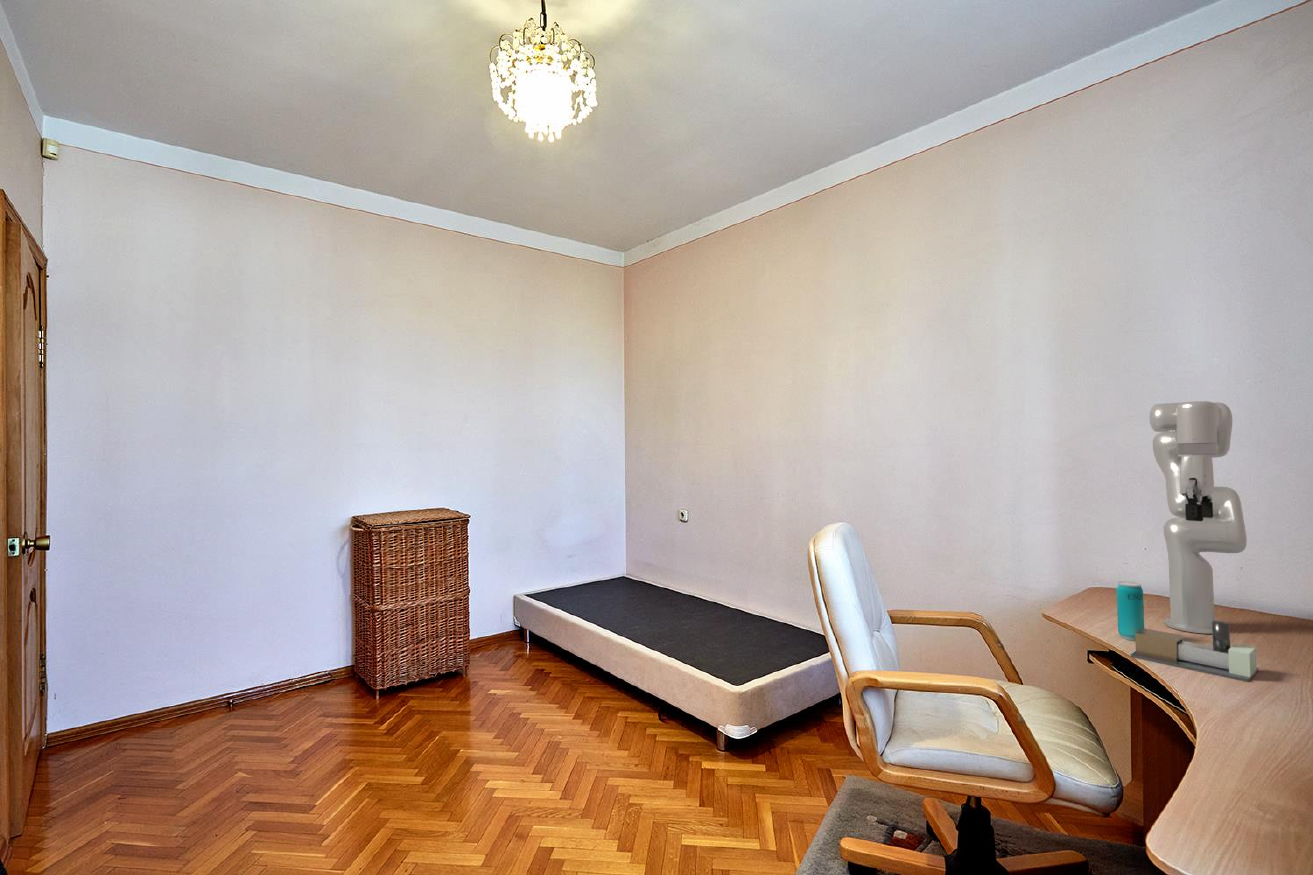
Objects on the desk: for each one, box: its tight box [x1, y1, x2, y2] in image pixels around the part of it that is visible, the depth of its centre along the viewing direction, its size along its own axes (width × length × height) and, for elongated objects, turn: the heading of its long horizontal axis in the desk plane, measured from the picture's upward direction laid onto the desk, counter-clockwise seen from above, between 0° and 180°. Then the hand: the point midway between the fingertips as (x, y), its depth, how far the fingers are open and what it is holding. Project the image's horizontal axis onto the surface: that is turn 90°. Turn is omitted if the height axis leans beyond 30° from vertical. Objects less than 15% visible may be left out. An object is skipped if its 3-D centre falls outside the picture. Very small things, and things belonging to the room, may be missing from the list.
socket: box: [1228, 643, 1258, 677], centre depth 141 cm, size 7×4×5 cm, turn 127°
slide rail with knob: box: [1130, 627, 1259, 683], centre depth 148 cm, size 11×22×6 cm, turn 37°
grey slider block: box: [1177, 620, 1231, 669], centre depth 146 cm, size 4×14×10 cm, turn 37°
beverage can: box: [1116, 581, 1145, 642], centre depth 167 cm, size 6×6×15 cm
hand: (1199, 519), depth 153 cm, fingers open, 9 cm apart
